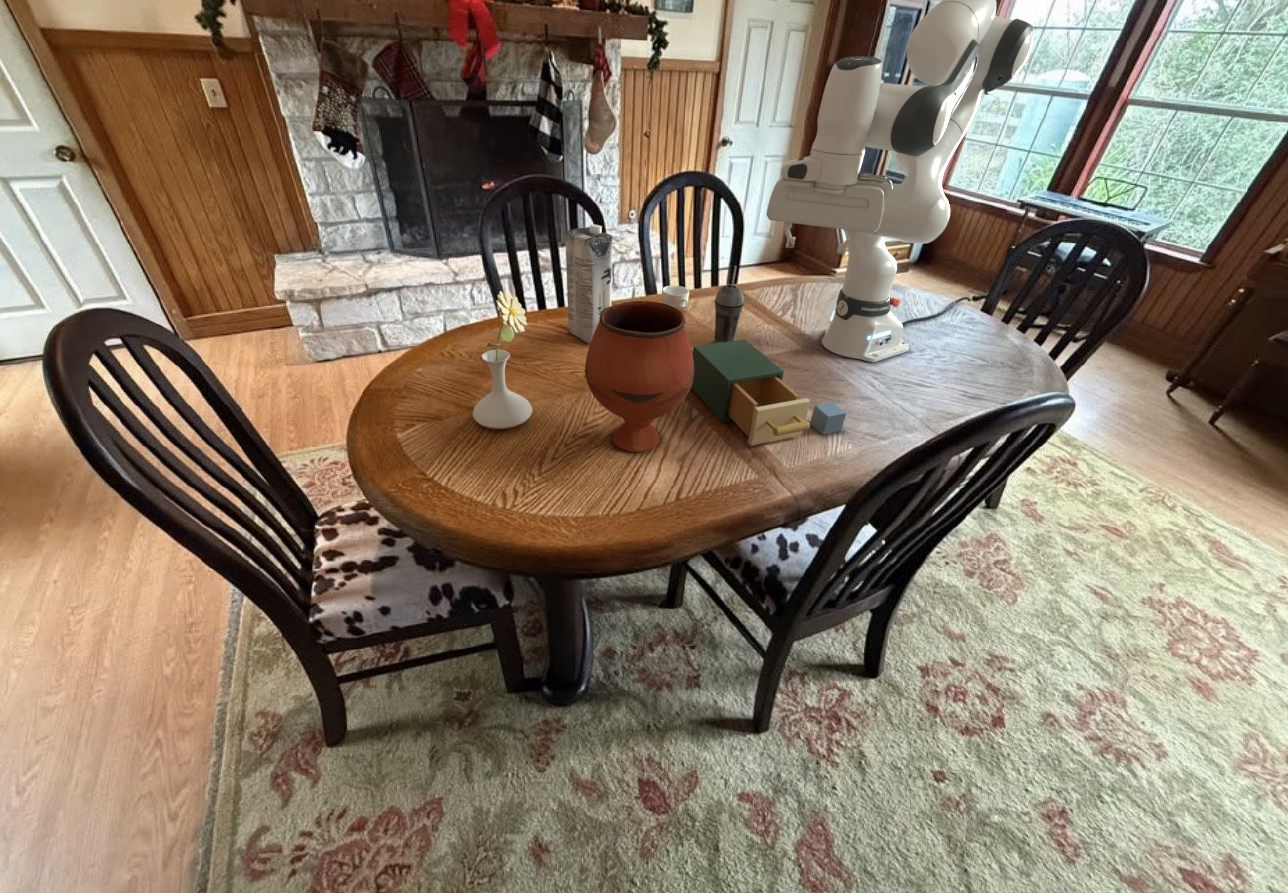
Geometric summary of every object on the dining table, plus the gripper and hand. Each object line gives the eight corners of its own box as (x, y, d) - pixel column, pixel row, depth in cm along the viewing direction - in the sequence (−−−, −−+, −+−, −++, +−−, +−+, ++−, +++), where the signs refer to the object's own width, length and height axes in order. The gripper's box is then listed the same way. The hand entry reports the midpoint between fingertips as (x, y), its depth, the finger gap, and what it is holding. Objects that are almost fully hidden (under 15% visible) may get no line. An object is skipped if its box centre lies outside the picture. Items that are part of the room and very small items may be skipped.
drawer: (814, 446, 104) (823, 412, 99) (762, 458, 100) (770, 422, 96) (762, 398, 118) (769, 366, 113) (715, 406, 114) (720, 373, 109)
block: (827, 419, 114) (832, 401, 111) (840, 431, 110) (846, 412, 108) (809, 423, 112) (814, 405, 110) (822, 435, 109) (828, 416, 106)
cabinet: (775, 411, 115) (784, 371, 109) (722, 421, 111) (728, 380, 105) (738, 377, 127) (744, 339, 121) (689, 385, 123) (693, 346, 117)
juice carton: (587, 347, 136) (585, 234, 120) (564, 332, 142) (559, 223, 127) (615, 338, 141) (617, 229, 125) (592, 324, 147) (591, 218, 131)
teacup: (655, 305, 160) (657, 287, 157) (677, 301, 163) (679, 283, 160) (674, 318, 153) (676, 299, 150) (697, 313, 156) (699, 295, 153)
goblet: (682, 413, 113) (694, 295, 98) (690, 470, 98) (706, 341, 83) (589, 410, 112) (587, 291, 98) (582, 468, 97) (579, 337, 82)
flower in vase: (504, 441, 102) (488, 314, 87) (461, 421, 107) (439, 297, 92) (550, 411, 111) (542, 291, 97) (508, 394, 116) (495, 277, 101)
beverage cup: (705, 348, 139) (715, 269, 127) (713, 337, 144) (723, 260, 132) (733, 354, 136) (745, 274, 125) (740, 342, 142) (753, 265, 130)
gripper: (894, 173, 96) (871, 253, 104) (777, 161, 100) (763, 239, 108) (897, 179, 91) (872, 263, 99) (773, 166, 95) (759, 247, 103)
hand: (814, 250), depth 104 cm, fingers open, 8 cm apart
